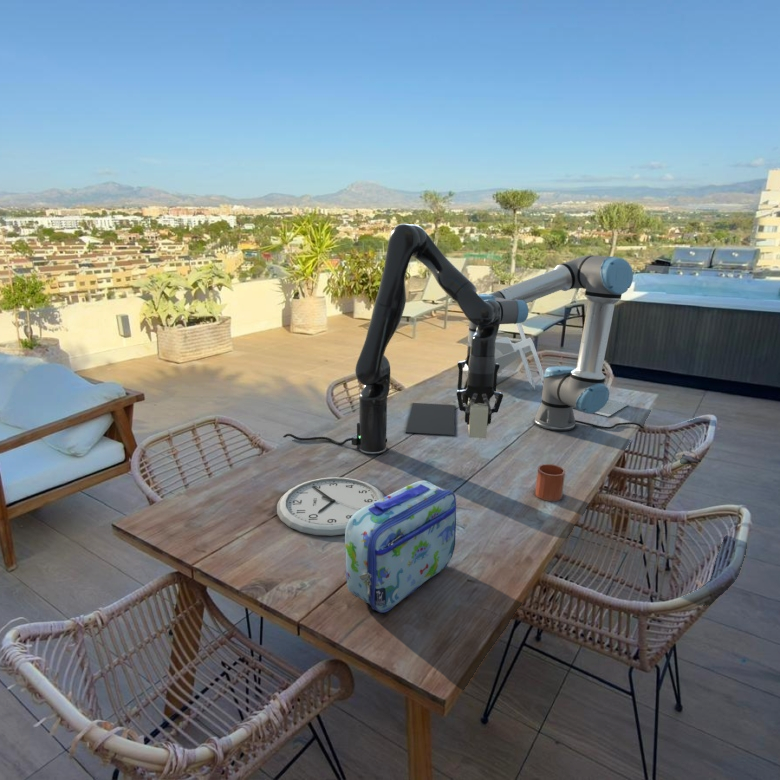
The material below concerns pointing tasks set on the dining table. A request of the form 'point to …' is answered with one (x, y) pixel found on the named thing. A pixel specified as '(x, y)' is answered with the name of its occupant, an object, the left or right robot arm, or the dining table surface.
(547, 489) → the terracotta pot
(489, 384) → the left robot arm
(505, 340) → the white plastic object
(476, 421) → the cream beam
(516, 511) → the dining table surface
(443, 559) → the lunch box
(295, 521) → the wall clock
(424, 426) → the dark rubber mat
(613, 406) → the invitation card
